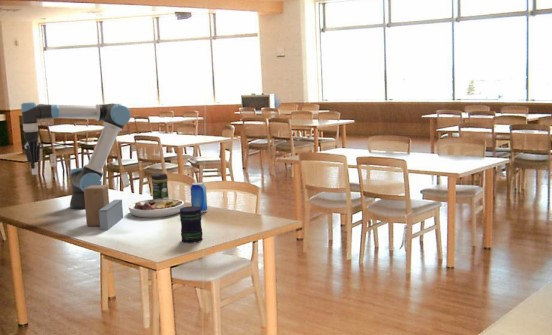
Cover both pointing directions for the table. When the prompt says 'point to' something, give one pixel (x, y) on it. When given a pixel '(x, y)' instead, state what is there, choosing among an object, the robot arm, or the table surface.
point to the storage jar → (191, 224)
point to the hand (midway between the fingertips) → (35, 174)
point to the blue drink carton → (199, 196)
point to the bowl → (156, 208)
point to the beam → (110, 214)
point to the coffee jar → (160, 186)
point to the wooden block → (95, 202)
